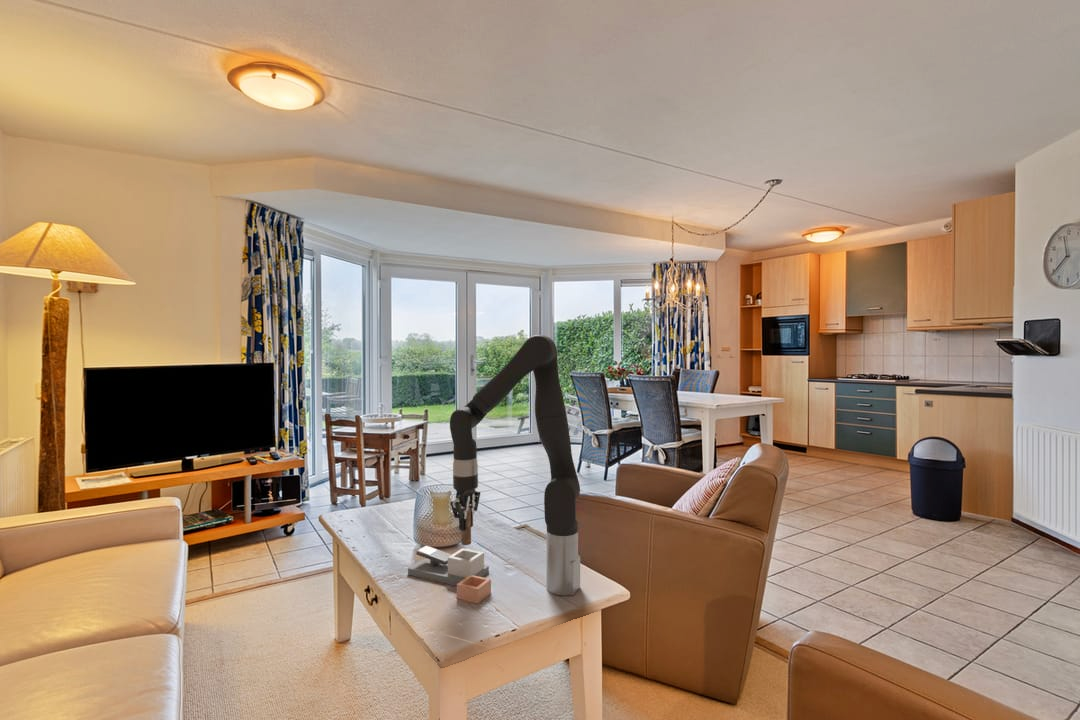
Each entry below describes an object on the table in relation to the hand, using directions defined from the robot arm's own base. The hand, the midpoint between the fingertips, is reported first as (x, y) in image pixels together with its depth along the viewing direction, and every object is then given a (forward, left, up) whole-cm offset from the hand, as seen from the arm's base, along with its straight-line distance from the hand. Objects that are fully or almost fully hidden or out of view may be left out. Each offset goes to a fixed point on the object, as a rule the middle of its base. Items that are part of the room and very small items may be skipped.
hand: (466, 528), depth 161 cm
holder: (-8, +9, -15) cm, 20 cm away
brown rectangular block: (0, 0, -5) cm, 5 cm away
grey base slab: (+7, 0, -15) cm, 17 cm away
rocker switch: (+12, 0, -10) cm, 16 cm away
